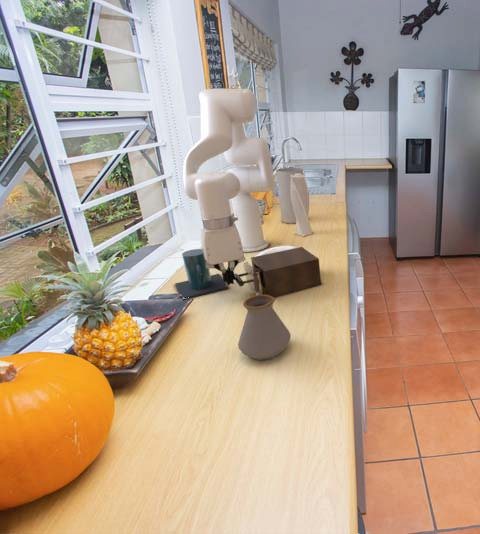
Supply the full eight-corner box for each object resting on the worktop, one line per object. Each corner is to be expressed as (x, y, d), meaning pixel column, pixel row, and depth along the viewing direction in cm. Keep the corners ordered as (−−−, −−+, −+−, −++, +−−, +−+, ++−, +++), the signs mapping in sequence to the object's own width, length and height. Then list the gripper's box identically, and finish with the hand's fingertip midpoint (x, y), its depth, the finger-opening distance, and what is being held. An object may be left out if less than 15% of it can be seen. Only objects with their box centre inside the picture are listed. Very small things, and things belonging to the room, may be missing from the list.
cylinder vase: (284, 217, 198) (278, 168, 189) (309, 216, 199) (304, 167, 190) (280, 224, 187) (273, 172, 177) (306, 223, 188) (301, 171, 178)
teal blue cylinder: (188, 284, 122) (180, 251, 118) (210, 279, 126) (203, 247, 121) (192, 293, 116) (184, 259, 112) (215, 287, 120) (208, 254, 116)
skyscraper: (316, 233, 173) (310, 169, 162) (304, 237, 167) (297, 171, 157) (304, 230, 177) (297, 168, 166) (292, 234, 171) (284, 170, 161)
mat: (175, 285, 123) (175, 283, 123) (218, 275, 130) (218, 273, 130) (181, 300, 113) (181, 298, 113) (228, 288, 120) (227, 287, 120)
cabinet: (268, 298, 114) (264, 271, 110) (255, 283, 124) (250, 257, 121) (321, 284, 123) (318, 258, 119) (304, 270, 133) (301, 246, 130)
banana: (311, 254, 148) (306, 269, 134) (261, 258, 147) (251, 273, 133) (309, 242, 146) (304, 256, 133) (259, 246, 145) (248, 260, 131)
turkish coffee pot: (295, 358, 86) (286, 298, 81) (240, 370, 83) (227, 308, 77) (285, 314, 105) (278, 263, 99) (240, 322, 101) (230, 270, 95)
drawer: (243, 301, 110) (239, 279, 108) (232, 286, 120) (228, 265, 117) (309, 284, 121) (307, 263, 118) (294, 271, 130) (291, 252, 128)
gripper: (242, 215, 113) (252, 272, 120) (185, 224, 105) (199, 284, 113) (249, 221, 108) (259, 281, 115) (190, 230, 100) (204, 294, 107)
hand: (229, 282), depth 114 cm, fingers closed
